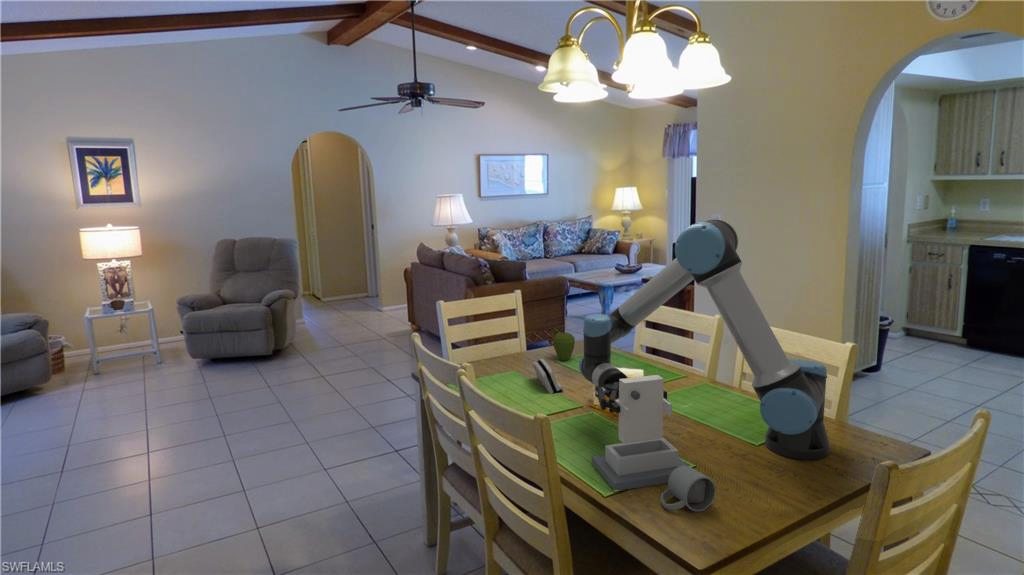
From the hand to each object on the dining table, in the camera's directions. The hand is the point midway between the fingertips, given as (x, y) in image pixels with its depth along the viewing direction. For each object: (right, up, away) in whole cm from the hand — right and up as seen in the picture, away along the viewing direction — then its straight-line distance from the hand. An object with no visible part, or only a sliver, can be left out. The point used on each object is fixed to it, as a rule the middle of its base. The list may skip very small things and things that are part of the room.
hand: (649, 412), depth 139 cm
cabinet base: (0, -16, +7) cm, 17 cm away
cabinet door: (-1, -7, +6) cm, 9 cm away
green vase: (-11, 0, +97) cm, 98 cm away
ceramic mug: (+6, -19, -8) cm, 21 cm away
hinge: (-20, -5, +69) cm, 72 cm away
